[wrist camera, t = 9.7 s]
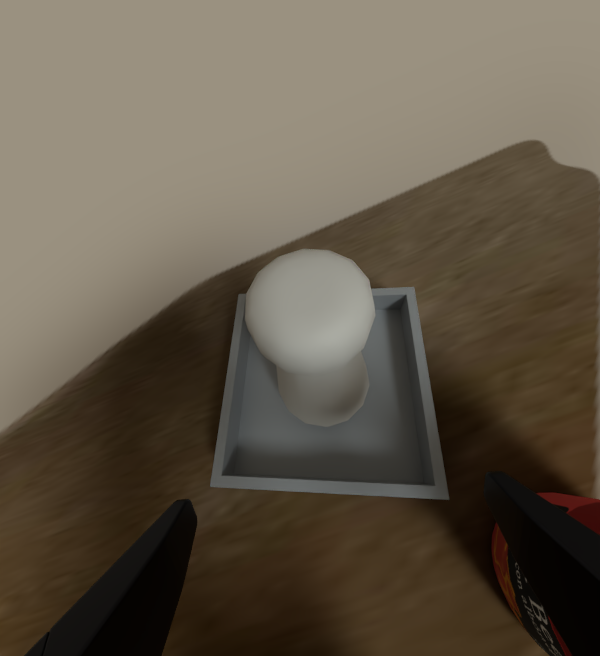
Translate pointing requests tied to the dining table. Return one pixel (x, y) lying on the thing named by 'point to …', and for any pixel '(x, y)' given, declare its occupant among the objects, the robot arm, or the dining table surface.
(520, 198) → the dining table surface
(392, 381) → the tray
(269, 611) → the dining table surface
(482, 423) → the dining table surface
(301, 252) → the salt shaker
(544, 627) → the canned food
